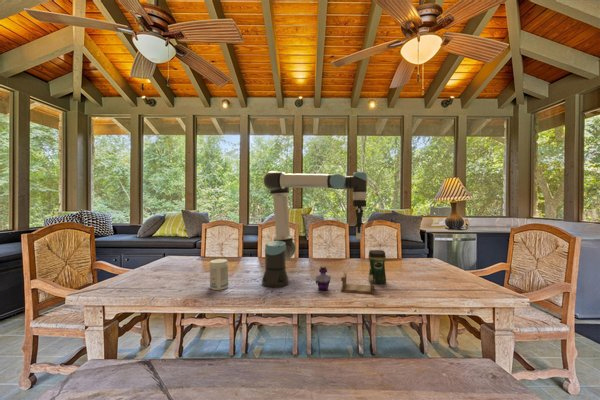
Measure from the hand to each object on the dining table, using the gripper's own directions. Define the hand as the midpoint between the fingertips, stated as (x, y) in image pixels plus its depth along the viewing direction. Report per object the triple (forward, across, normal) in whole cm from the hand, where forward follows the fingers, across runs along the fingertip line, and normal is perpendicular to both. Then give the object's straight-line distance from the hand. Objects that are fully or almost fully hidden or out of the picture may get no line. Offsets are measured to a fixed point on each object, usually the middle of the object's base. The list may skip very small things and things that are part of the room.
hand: (359, 237), depth 156 cm
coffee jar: (+27, +6, -10) cm, 29 cm away
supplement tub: (+28, -25, +73) cm, 82 cm away
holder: (+26, -10, 0) cm, 28 cm away
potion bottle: (+27, -14, +18) cm, 35 cm away
